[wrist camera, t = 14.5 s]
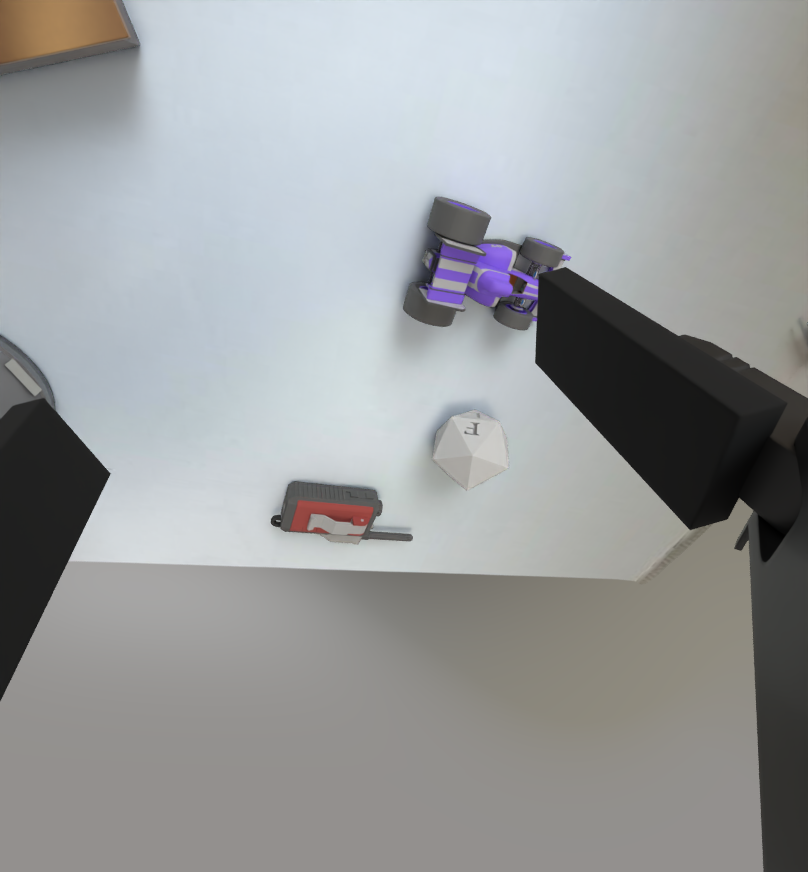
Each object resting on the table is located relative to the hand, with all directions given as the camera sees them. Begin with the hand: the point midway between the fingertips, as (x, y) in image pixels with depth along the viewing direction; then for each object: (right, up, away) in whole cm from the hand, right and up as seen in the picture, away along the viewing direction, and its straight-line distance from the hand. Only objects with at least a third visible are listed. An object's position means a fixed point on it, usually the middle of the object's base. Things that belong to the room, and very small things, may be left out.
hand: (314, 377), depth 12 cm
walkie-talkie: (-4, -13, +43) cm, 45 cm away
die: (+9, -1, +41) cm, 42 cm away
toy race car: (+10, +14, +29) cm, 34 cm away
